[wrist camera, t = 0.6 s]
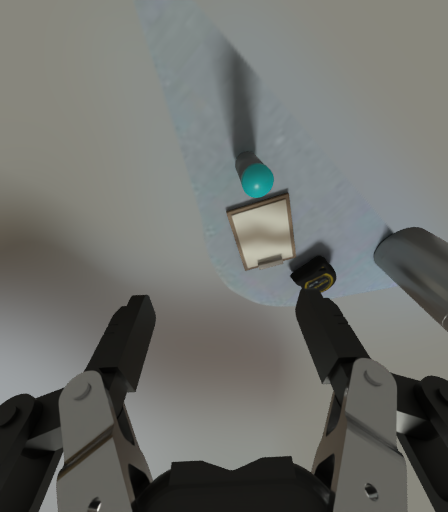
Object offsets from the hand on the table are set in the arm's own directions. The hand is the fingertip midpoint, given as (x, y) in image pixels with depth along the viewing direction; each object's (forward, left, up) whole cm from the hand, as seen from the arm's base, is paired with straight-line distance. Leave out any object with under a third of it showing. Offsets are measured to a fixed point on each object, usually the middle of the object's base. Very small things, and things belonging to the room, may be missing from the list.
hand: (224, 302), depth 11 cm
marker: (-3, -4, -22) cm, 22 cm away
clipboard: (-10, +6, -22) cm, 25 cm away
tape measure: (-22, +11, -22) cm, 33 cm away
